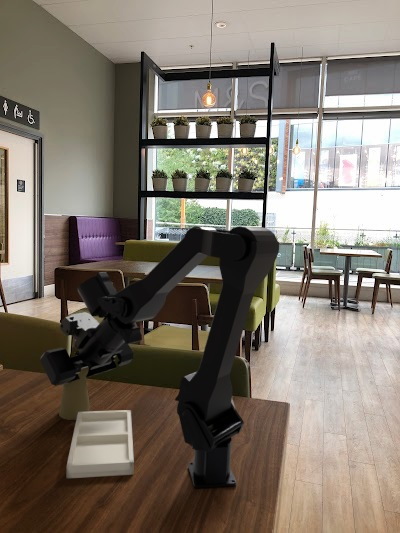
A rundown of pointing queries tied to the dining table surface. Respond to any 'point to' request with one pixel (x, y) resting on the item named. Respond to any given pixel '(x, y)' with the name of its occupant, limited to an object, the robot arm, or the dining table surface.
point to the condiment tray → (101, 445)
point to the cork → (75, 397)
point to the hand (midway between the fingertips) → (70, 379)
